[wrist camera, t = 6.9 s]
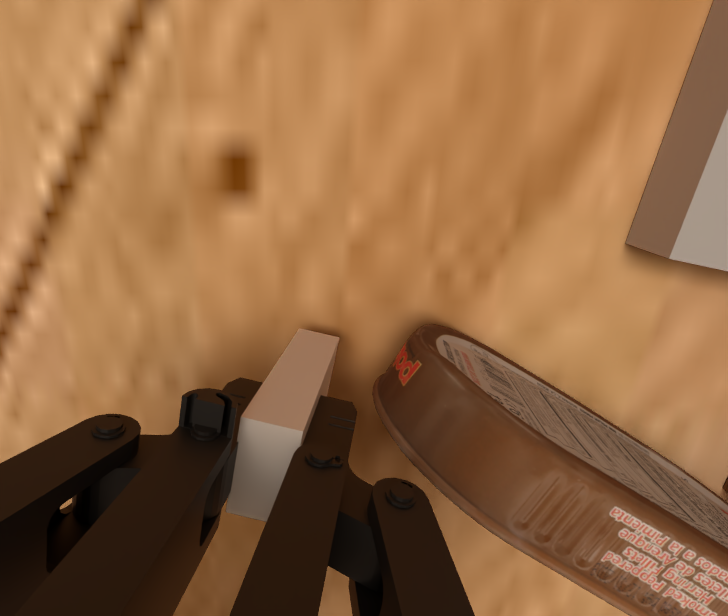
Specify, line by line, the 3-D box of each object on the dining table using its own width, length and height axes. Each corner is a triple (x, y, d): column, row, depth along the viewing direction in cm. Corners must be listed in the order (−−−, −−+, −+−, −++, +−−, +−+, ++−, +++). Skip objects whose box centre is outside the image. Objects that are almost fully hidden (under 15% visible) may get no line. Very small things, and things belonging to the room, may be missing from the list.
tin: (374, 349, 19) (352, 482, 11) (419, 284, 18) (429, 377, 10) (679, 536, 20) (857, 777, 12) (735, 483, 20) (965, 705, 12)
